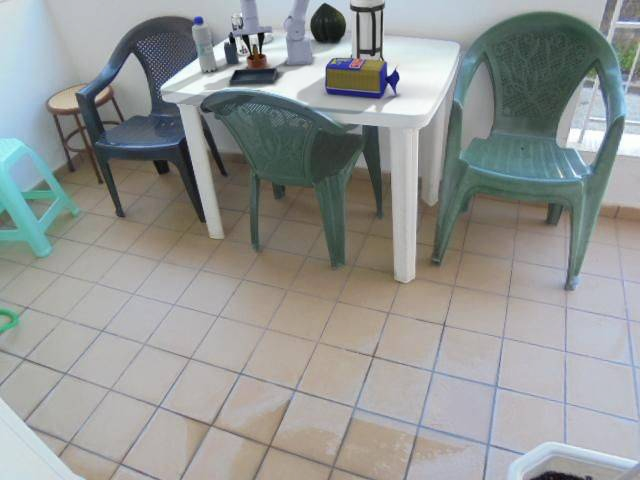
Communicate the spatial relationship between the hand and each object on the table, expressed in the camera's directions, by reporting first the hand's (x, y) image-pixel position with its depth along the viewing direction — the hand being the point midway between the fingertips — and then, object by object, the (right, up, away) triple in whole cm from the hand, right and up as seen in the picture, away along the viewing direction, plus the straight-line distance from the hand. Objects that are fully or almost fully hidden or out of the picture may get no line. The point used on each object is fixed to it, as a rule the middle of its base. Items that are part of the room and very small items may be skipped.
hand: (255, 54), depth 185 cm
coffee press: (+43, -3, 0) cm, 43 cm away
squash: (+28, +14, +22) cm, 39 cm away
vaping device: (-10, +2, +7) cm, 12 cm away
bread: (+39, -21, -20) cm, 48 cm away
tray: (0, -11, -5) cm, 13 cm away
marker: (0, -4, +3) cm, 5 cm away
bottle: (-19, -5, +4) cm, 20 cm away
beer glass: (-7, +7, +17) cm, 20 cm away
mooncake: (-3, +17, +28) cm, 33 cm away
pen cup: (0, -4, +3) cm, 5 cm away
